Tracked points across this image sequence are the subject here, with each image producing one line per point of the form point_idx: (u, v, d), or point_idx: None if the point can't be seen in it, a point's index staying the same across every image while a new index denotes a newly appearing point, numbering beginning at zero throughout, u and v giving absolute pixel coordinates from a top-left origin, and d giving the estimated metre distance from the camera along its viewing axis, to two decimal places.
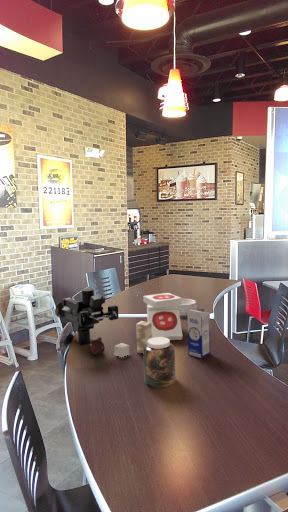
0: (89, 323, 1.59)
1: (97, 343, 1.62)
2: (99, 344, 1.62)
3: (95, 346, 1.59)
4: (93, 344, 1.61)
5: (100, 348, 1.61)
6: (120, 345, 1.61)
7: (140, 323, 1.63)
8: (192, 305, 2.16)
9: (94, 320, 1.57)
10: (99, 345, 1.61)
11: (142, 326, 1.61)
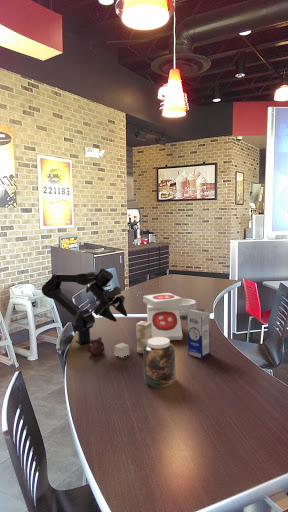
0: (104, 315, 1.65)
1: (97, 343, 1.62)
2: (99, 344, 1.62)
3: (95, 346, 1.60)
4: (93, 344, 1.61)
5: (100, 348, 1.61)
6: (120, 345, 1.61)
7: (140, 323, 1.63)
8: (192, 305, 2.16)
9: (112, 317, 1.64)
10: (99, 345, 1.61)
11: (142, 326, 1.61)
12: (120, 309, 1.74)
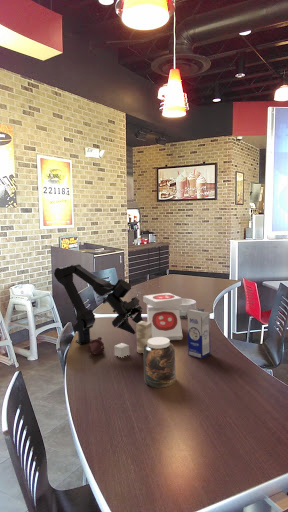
0: (122, 327, 1.61)
1: (97, 343, 1.62)
2: (99, 344, 1.62)
3: (95, 346, 1.60)
4: (93, 344, 1.62)
5: (100, 348, 1.62)
6: (120, 345, 1.61)
7: (140, 323, 1.63)
8: (192, 305, 2.16)
9: (130, 329, 1.60)
10: (99, 345, 1.62)
11: (142, 326, 1.61)
12: (138, 320, 1.70)
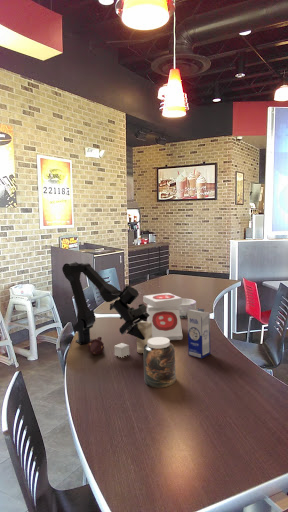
0: (132, 333, 1.61)
1: (96, 342, 1.62)
2: (98, 343, 1.62)
3: (94, 345, 1.60)
4: (92, 343, 1.62)
5: (99, 347, 1.62)
6: (120, 345, 1.61)
7: (140, 323, 1.63)
8: (192, 305, 2.16)
9: (140, 335, 1.61)
10: (98, 344, 1.62)
11: (142, 326, 1.61)
12: None
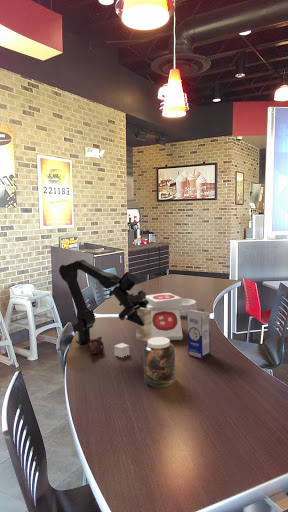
0: (131, 319, 1.61)
1: (96, 342, 1.63)
2: (98, 343, 1.63)
3: (94, 345, 1.60)
4: (92, 343, 1.62)
5: (99, 347, 1.62)
6: (120, 345, 1.61)
7: (140, 309, 1.62)
8: (192, 305, 2.16)
9: (139, 322, 1.60)
10: (98, 344, 1.62)
11: (141, 312, 1.60)
12: None
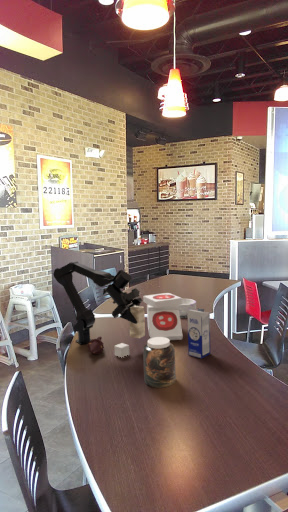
0: (124, 317, 1.62)
1: (96, 342, 1.63)
2: (98, 343, 1.63)
3: (94, 345, 1.61)
4: (92, 343, 1.62)
5: (99, 347, 1.62)
6: (120, 345, 1.61)
7: (133, 307, 1.64)
8: (192, 305, 2.16)
9: (132, 319, 1.62)
10: (98, 344, 1.62)
11: (134, 310, 1.62)
12: None
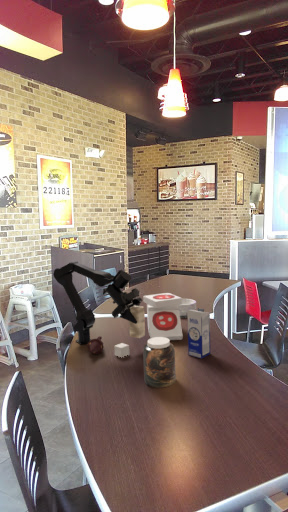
0: (124, 317, 1.62)
1: (96, 342, 1.63)
2: (98, 343, 1.63)
3: (94, 345, 1.61)
4: (92, 343, 1.63)
5: (99, 347, 1.62)
6: (120, 345, 1.61)
7: (133, 307, 1.64)
8: (192, 305, 2.16)
9: (132, 319, 1.62)
10: (98, 344, 1.63)
11: (134, 310, 1.62)
12: None
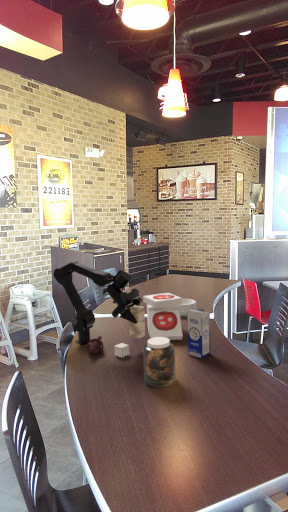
0: (124, 317, 1.62)
1: (96, 342, 1.63)
2: (98, 343, 1.63)
3: (94, 345, 1.61)
4: (92, 343, 1.63)
5: (99, 347, 1.63)
6: (120, 345, 1.61)
7: (133, 307, 1.64)
8: (192, 305, 2.16)
9: (132, 319, 1.62)
10: (98, 344, 1.63)
11: (134, 310, 1.62)
12: None
